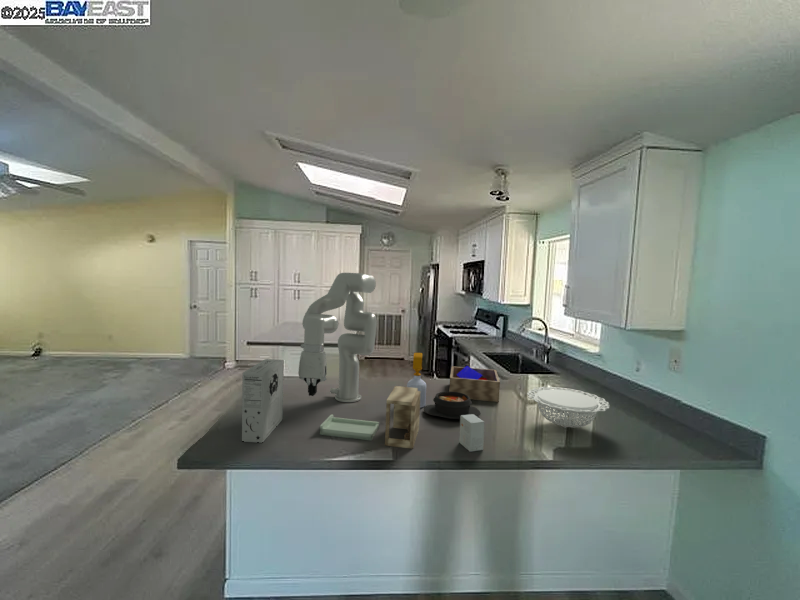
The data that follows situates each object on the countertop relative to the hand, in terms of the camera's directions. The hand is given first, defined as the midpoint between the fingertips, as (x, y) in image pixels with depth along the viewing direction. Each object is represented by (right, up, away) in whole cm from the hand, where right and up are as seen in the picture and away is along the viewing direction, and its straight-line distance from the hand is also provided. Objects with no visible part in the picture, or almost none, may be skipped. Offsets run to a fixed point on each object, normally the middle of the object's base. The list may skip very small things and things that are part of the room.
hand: (312, 394), depth 153 cm
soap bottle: (+42, -13, +32) cm, 54 cm away
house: (+73, -12, +55) cm, 92 cm away
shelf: (+35, -15, -4) cm, 38 cm away
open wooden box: (+73, -12, +55) cm, 92 cm away
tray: (+15, -14, -1) cm, 20 cm away
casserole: (+57, -14, +21) cm, 62 cm away
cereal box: (-18, -13, -3) cm, 22 cm away
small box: (+60, -17, -10) cm, 63 cm away
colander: (+103, -17, +11) cm, 105 cm away
